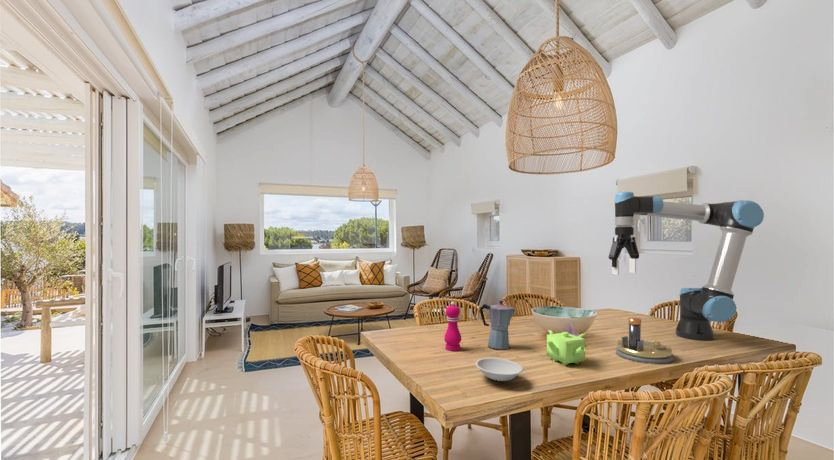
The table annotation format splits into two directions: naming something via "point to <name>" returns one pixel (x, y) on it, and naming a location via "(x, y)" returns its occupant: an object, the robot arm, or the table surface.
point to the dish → (499, 368)
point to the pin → (634, 332)
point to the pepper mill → (452, 328)
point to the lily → (570, 330)
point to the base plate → (643, 358)
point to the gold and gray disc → (645, 349)
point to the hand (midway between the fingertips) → (624, 273)
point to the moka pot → (498, 324)
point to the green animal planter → (566, 347)
